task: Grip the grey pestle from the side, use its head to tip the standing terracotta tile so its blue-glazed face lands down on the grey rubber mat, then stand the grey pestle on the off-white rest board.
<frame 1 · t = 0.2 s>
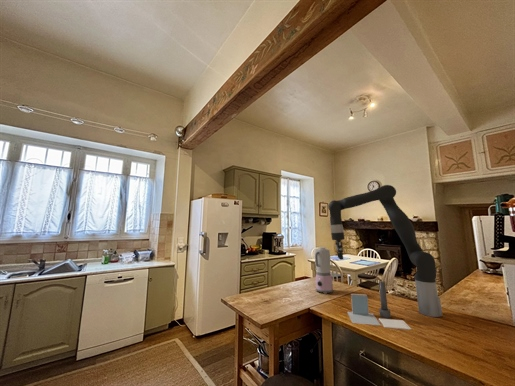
hand: (340, 258, 129), 28 cm above the worktop, tool pointing down, fingers open, 8 cm apart
rest board: (394, 325, 101), on the worktop
grey pestle: (385, 317, 110), on the worktop
mat: (362, 319, 109), on the worktop
blender: (323, 292, 153), on the worktop
tile: (360, 314, 113), point 1 cm above the worktop, touching mat
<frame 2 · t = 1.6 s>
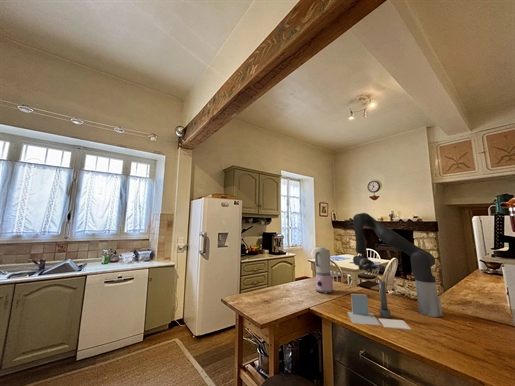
hand: (374, 269, 124), 22 cm above the worktop, tool horizontal, fingers open, 8 cm apart
nothing on the worktop moved.
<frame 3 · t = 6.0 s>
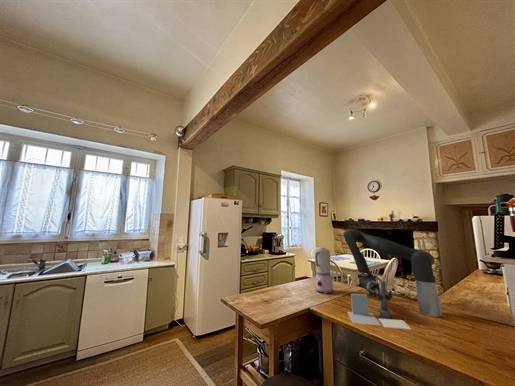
hand: (385, 298, 109), 11 cm above the worktop, tool horizontal, fingers closed on grey pestle, 3 cm apart
grey pestle: (385, 317, 110), on the worktop, touching gripper
everything else where it was.
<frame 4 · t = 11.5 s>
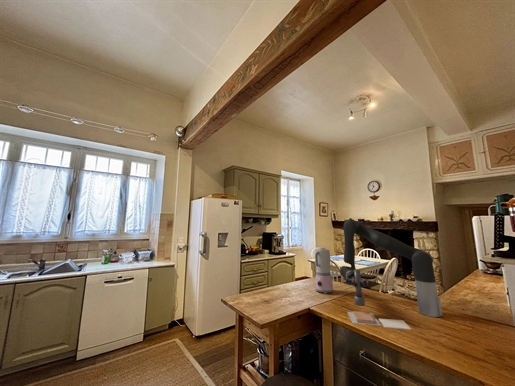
hand: (359, 285, 112), 16 cm above the worktop, tool horizontal, fingers closed on grey pestle, 3 cm apart
grey pestle: (359, 304, 114), point 6 cm above the worktop, touching gripper
tile: (360, 313, 113), point 1 cm above the worktop, tilted 90°, touching mat
everything else where it was.
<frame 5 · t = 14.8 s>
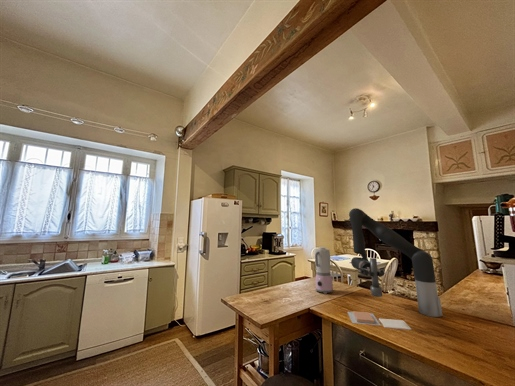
hand: (376, 274, 105), 24 cm above the worktop, tool horizontal, fingers closed on grey pestle, 3 cm apart
grey pestle: (376, 295, 106), point 13 cm above the worktop, touching gripper
everything else where it was.
when the fingers open (13 cm above the worktop, at t = 17.6 s): grey pestle drops 1 cm, resting on rest board.
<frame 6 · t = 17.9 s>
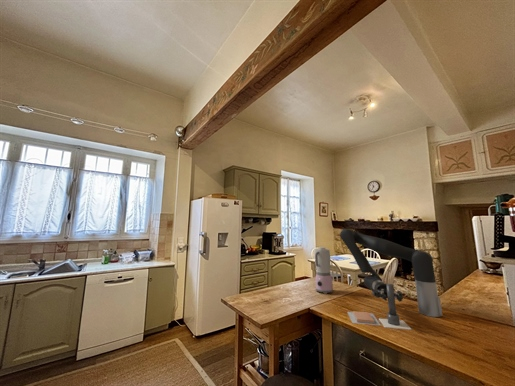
hand: (393, 298, 101), 13 cm above the worktop, tool horizontal, fingers open, 5 cm apart
grey pestle: (393, 323, 102), point 1 cm above the worktop, touching rest board
everything else where it was.
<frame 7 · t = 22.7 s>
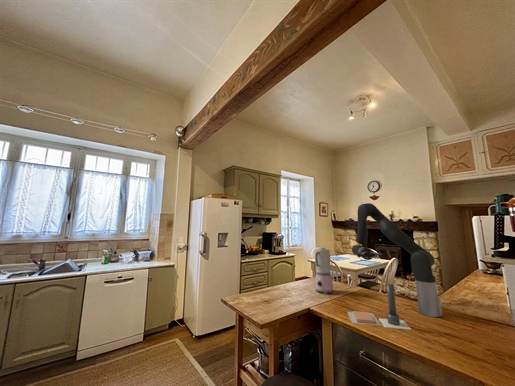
hand: (373, 256, 123), 30 cm above the worktop, tool horizontal, fingers open, 8 cm apart
nothing on the worktop moved.
at the end: tile tilted 90°; tile inside the target area (4.6 cm from its centre), point 1.3 cm above the worktop; grey pestle inside the target area (0.1 cm from its centre), point 1.0 cm above the worktop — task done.
